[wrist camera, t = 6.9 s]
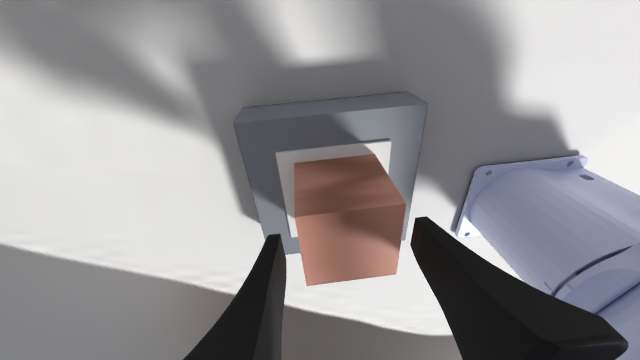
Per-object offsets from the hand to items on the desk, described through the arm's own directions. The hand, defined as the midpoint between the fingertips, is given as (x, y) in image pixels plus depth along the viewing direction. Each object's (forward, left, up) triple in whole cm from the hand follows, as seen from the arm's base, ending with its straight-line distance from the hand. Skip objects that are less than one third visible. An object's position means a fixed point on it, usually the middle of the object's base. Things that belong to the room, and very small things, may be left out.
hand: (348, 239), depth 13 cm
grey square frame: (0, 0, -7) cm, 7 cm away
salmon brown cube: (0, 0, -4) cm, 4 cm away
